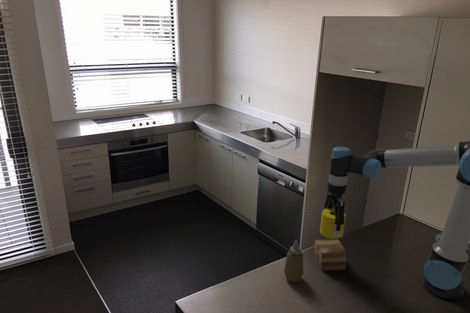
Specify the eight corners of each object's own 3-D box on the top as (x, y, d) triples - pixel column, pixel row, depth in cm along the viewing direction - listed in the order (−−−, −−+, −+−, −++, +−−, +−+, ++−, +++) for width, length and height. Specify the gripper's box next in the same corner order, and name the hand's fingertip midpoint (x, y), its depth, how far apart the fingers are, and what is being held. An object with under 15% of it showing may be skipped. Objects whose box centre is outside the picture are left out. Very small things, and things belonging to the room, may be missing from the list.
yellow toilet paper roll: (315, 229, 161) (317, 210, 158) (332, 225, 165) (335, 207, 163) (329, 240, 153) (332, 220, 150) (348, 236, 157) (350, 216, 154)
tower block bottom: (345, 270, 159) (346, 261, 158) (321, 270, 158) (322, 262, 157) (336, 256, 169) (337, 247, 168) (313, 256, 168) (314, 248, 167)
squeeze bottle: (306, 278, 152) (310, 241, 146) (295, 287, 146) (299, 248, 141) (290, 270, 157) (293, 233, 152) (279, 278, 151) (282, 240, 146)
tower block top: (345, 261, 157) (347, 252, 156) (321, 262, 157) (322, 253, 155) (337, 248, 168) (338, 239, 167) (314, 248, 167) (314, 239, 166)
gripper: (357, 193, 142) (350, 243, 148) (336, 174, 163) (330, 218, 170) (338, 194, 141) (332, 244, 148) (320, 174, 162) (315, 218, 169)
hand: (331, 230), depth 159 cm, fingers closed on yellow toilet paper roll, 10 cm apart
